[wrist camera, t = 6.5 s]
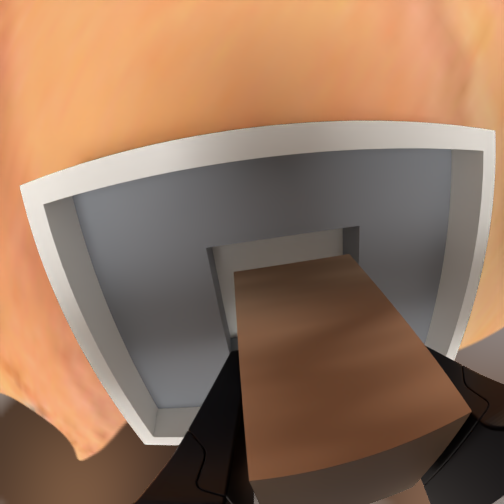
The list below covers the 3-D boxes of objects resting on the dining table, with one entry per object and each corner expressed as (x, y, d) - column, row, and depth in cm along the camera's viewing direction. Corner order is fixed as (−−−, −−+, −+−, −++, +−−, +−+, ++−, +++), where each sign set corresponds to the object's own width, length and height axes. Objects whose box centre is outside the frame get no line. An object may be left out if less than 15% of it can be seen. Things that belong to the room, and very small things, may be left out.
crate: (428, 122, 11) (495, 130, 7) (408, 340, 16) (442, 387, 12) (79, 164, 11) (19, 185, 7) (156, 384, 16) (144, 444, 12)
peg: (349, 254, 10) (471, 411, 4) (344, 341, 12) (412, 486, 5) (233, 271, 10) (249, 481, 3) (249, 358, 11) (269, 525, 5)
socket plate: (426, 139, 11) (451, 144, 9) (406, 341, 15) (419, 360, 14) (91, 180, 10) (70, 190, 9) (162, 384, 15) (158, 408, 13)
